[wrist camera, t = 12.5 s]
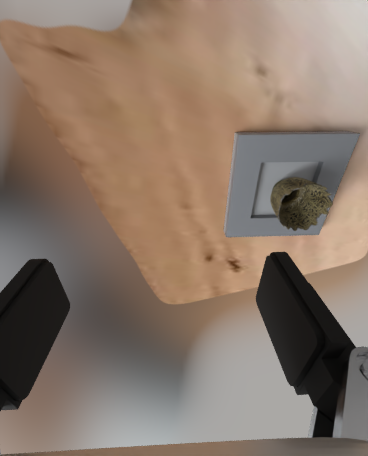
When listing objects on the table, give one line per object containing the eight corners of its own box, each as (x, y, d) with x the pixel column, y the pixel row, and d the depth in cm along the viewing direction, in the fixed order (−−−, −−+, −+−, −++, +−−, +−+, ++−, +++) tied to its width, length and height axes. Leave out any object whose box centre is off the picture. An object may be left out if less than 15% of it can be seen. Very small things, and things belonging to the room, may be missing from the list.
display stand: (234, 132, 33) (239, 135, 31) (348, 131, 33) (359, 133, 31) (223, 230, 42) (226, 237, 40) (311, 228, 43) (318, 234, 41)
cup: (280, 158, 34) (307, 174, 27) (312, 179, 36) (344, 199, 29) (250, 196, 37) (268, 218, 31) (281, 213, 40) (303, 238, 33)
